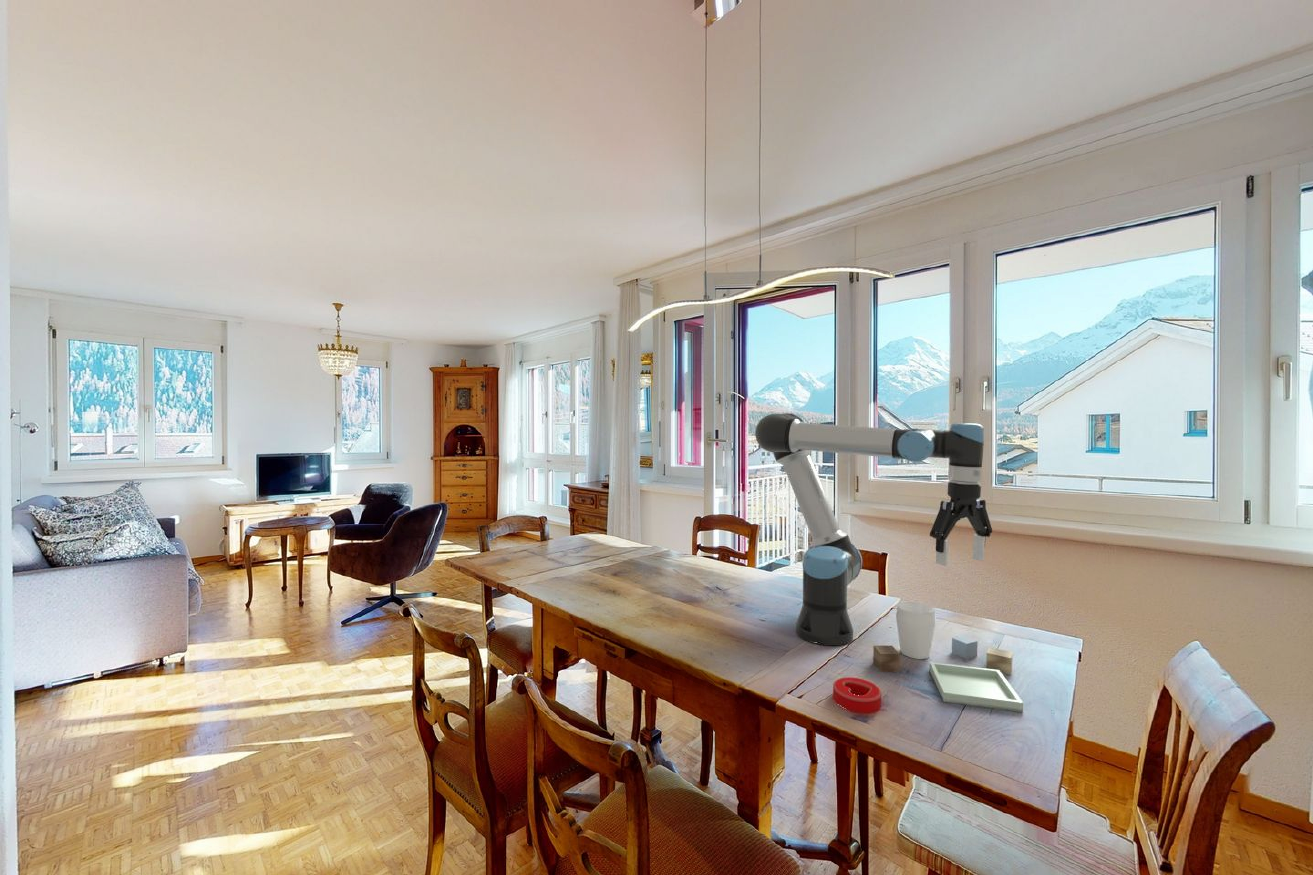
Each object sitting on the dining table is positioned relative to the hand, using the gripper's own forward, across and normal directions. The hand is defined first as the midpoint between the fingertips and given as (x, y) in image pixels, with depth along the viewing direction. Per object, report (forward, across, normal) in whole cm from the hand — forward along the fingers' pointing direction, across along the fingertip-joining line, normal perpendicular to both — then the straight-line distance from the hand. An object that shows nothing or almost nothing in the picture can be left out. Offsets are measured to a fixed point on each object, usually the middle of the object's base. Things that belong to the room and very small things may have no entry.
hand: (960, 562), depth 141 cm
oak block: (+22, -3, -14) cm, 26 cm away
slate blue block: (+22, -4, -6) cm, 23 cm away
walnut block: (+22, -27, -3) cm, 36 cm away
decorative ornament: (+23, -45, -12) cm, 52 cm away
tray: (+22, -18, -18) cm, 34 cm away
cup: (+22, -15, 0) cm, 27 cm away
